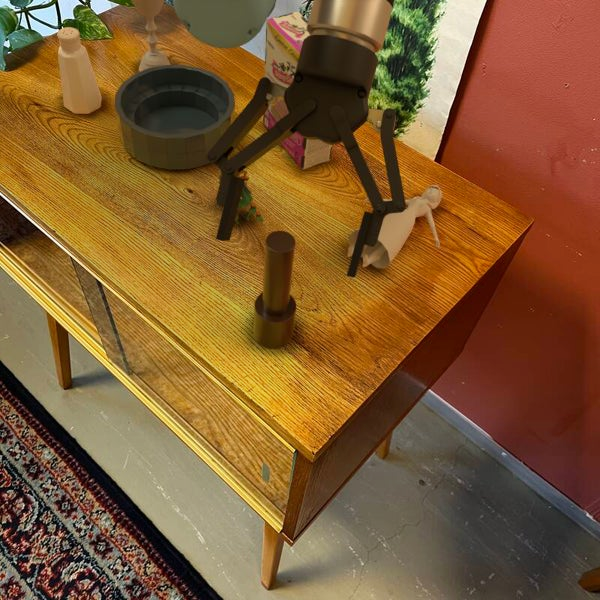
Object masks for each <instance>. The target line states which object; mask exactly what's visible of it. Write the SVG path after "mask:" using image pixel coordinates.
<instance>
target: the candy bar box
mask: <svg viewBox="0 0 600 600" xmlns="http://www.w3.org/2000/svg"><path fill="white" fill-rule="evenodd" d="M265 23H266V25H265V27H266V28H265V51H264V52H265V54H264V77H267V78H269V79H270V81H271V82H273V83H275V84H278V85H281V86H283V87H286V88H288V87H289V86H290V84H291V83H292V81H293V79H294V75H295V71H296V67H297V63H298V59H299V55H300V52H301V48H302V44H303V40H304V39H305V38H306V37H308V36H310V34H309V32H308V31H307V24H308V19H307V18H305V16H303V15H302V13H300V12H299V10H297V11H294V12H290V13H285V14H282V15H279V16H272V17H270V18H267V19H266V21H265ZM288 113H289V111H288V109H287V106H286V103H285V101H284V99H280V100H279V101H278V102H277V103H276V104H275V105H273V106H270V105H269V107H268V109H267V111H266V112H265V113H264V115H263V116H262V125H263V127H264V128H265V129H266V131H268V130H269V129H270V128H272V127H273V126H274V125H275V124H276V123H277V122H278V121H279V120H280V119H282V118H283V117H284V116H286V115H287V114H288ZM279 145H280V146H281V147H282V148H283V149H284V151H285V152H286V153H287V154H288V155H289V157H291V159H292V160H293V161H294V162H295V163H296V165H297V166H298V167H299V168H300V170H302V171H304V170H308V169H311V168H313V167H316V166H319V165H322V164H325V163H327V162H330V161H331V158H332V151H333V145H329V144H326V143H324V142H322V141H321V140H310V139H306V138H303V137H302V136H301V135H300V134H299V133H298V132H296V133H295V134H293V135H292V136H291V137H289V138H287V139H285V140H284V141H282V142H281V143H280V144H279Z"/></svg>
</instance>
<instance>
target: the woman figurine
mask: <svg viewBox="0 0 600 600" xmlns="http://www.w3.org/2000/svg"><path fill="white" fill-rule="evenodd" d="M442 198H443V191H442V190H441V188H440V187H439V185H437V184H431V185H429V186H428V187H427V188H426V189H425V191H424V192H423V193H422V195H421V196H419V195H417V196H413V198H409V199H405V203H406V206H407V207H406V209H405V210H404V211H403V212H401V213H391V214H388V215H386V216H385V217H384V220H383V223H382V227H381V230H380V234H379V237H378V241H377V243H376V244H375V246H374V247H372V246H368V245H364V249H363V252H362V256H361V258H362V262H363V263H362V267H363V268H366V267H368V266H369V265H372V266H373V267H375V268H376V269H385V270H386V269H387V268H388V266H389V265H390V264H391V263H392V261H393V260H394V259H395V258H396V256H397V255H398V254H399V252H400V251H401V250H402V248H403V246H404V244H405V243H406V241H407V240H408V238H409V236H410V234H411V233H412V231H413V229H414V226H415V223H416V218H419V217H426V220H427V222H428V226H429V228H430V230H431V232H432V235H433V238H434V243H435V245H436V246H435V248H440V245H441V243H440V240H439V238H438V233H437V230H436V224H435V221H434V217H433V210H435V209H436V208H437V207H438V206H439V205H440V204H441V201H442ZM383 200H384V201H392V198H391V199H390V198H389V199H388V198H383ZM364 202H365V203H366V204H369V203H370V201H369V198H368V197H366V198H364ZM370 204H371V203H370ZM359 229H360V227H358V228H356V229H354V230H353V231H352V232H351V233H350V234H349V235H348V240H349V243H348V244H349V247H348V248H347V257H348V258H350V257H352V254H353V251H354V247H355V243H356V240H357V236H358V233H359Z"/></svg>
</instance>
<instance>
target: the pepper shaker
mask: <svg viewBox="0 0 600 600" xmlns="http://www.w3.org/2000/svg"><path fill="white" fill-rule="evenodd" d="M80 34H81V33H80V31H79V30H78V29H77V28H75V27H71V26H68V27H63V28H60V29H59V30H58V31H57V33H56V36H57V39H58V43H59V45H60V46H59V47H58V52H57V59H58V67H59V75H60V84H61V92H62V101H63V107H65V109H67V110H68V111H70V112H72V114H77V115H86V114H87V115H89V114H91V113H93V112H95V111H97V110H98V109H100V108H101V106H102V101H103V100H102V99H103V97H102V94H101V91H100V87H99V84H98V81H97V78H96V75H95V72H94V71H95V70H94V69H93V66H92V62H91V59H90V56H89V52H88V50H87V47H85V46H84V45H82V41H81V35H80Z"/></svg>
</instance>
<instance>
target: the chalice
mask: <svg viewBox="0 0 600 600" xmlns="http://www.w3.org/2000/svg"><path fill="white" fill-rule="evenodd" d="M130 2H131V3H132V5H133V6H134V8H135V9H136V10H137V12H138V13H139V15H140V16H141V17H145V18H146V25H145V27H144V28H145V30H146V31H147V33H148V36H147V37H146V38H145V40H146V42H147V43H148V44H149V49H148V50H147V51H146V52H144V54H143V55H142V56H141V60H140V64H139V66H138V72H141V71H143V70H145V69H148V68H152V67H157V66H163V65H172V64H171V62H170V60H169V59H168V56H167V54H165V52H163V51H162V50H159V49H158V48H157V43H158V42H159V41H160V40H159V37H158V36H157V35H156V30H157V28H158V27H157V25H156V24H155V20H154V19H155V17H156V16H158V15H159V14H160V12H161V9H162V7H163V5H164V3H165V0H130Z"/></svg>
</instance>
